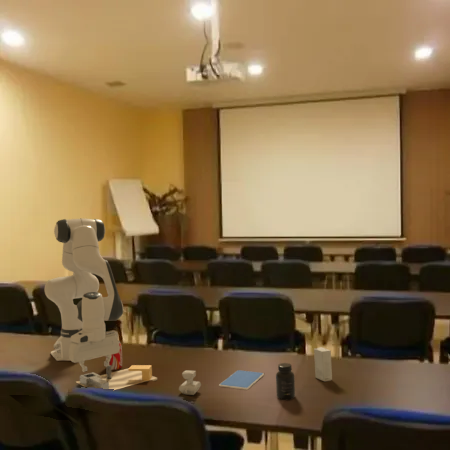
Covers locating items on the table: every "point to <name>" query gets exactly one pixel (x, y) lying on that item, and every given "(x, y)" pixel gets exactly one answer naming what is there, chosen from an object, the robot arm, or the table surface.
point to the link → (93, 381)
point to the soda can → (116, 359)
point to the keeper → (143, 370)
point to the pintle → (108, 372)
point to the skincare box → (323, 364)
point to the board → (123, 379)
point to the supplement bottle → (285, 382)
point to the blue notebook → (241, 380)
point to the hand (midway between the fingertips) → (95, 368)
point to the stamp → (189, 383)
